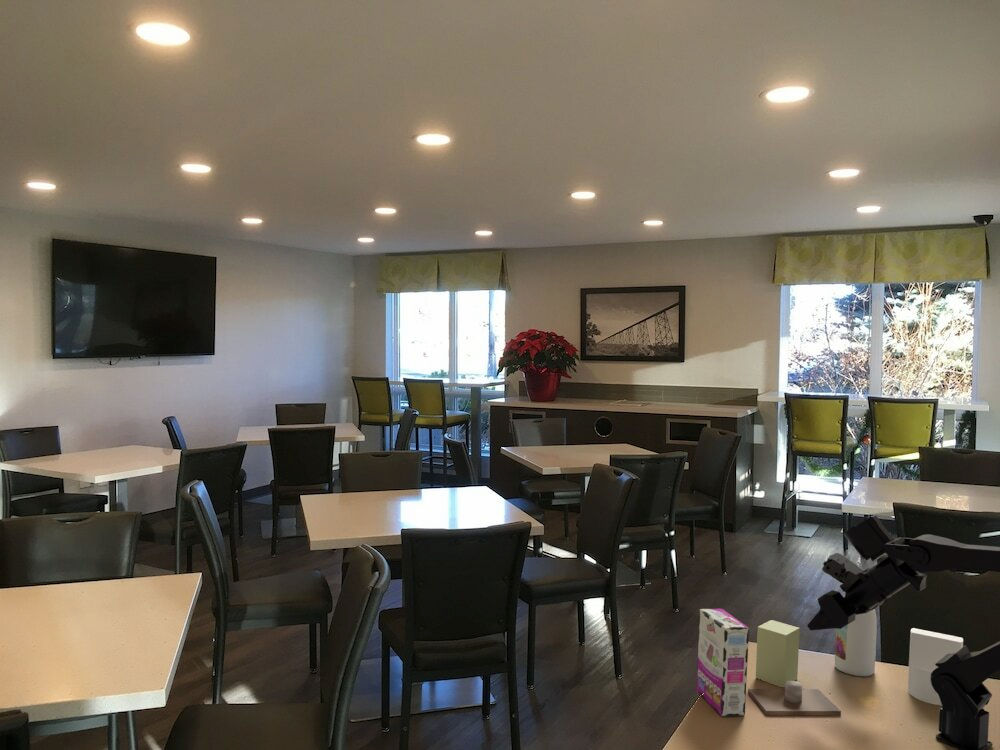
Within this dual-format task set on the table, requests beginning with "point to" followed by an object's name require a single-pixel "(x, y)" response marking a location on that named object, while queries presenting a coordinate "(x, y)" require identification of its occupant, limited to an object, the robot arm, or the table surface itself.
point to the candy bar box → (722, 661)
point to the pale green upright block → (777, 653)
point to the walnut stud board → (787, 708)
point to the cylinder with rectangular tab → (928, 661)
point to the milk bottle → (857, 645)
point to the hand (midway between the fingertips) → (819, 622)
